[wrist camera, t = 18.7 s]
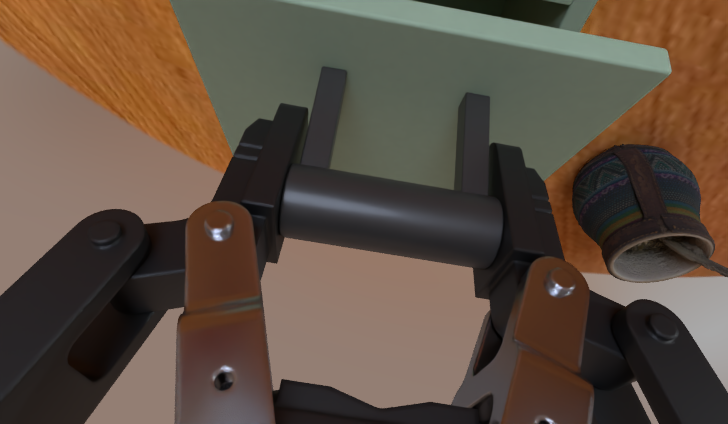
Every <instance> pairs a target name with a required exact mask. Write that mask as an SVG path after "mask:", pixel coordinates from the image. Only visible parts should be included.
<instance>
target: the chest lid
mask: <svg viewBox="0 0 728 424" xmlns="http://www.w3.org/2000/svg"><path fill="white" fill-rule="evenodd" d="M170 2H171V5H172V7H173V10H174V12H175V15H176V17H177V19H178V22H179V24H180V27H181V29H182V32H183V34H184V37H185V39H186V41H187V44H188V46H189V49H190V51H191V54H192V56H193V59H194V61H195V63H196V66H197V68H198V71H199V73H200V76H201V78H202V81H203V83H204V85H205V88H206V90H207V93H208V95H209V98H210V100H211V103H212V105H213V107H214V110H215V112H216V115H217V117H218V120H219V122H220V125H221V127H222V129H223V132H224V134H225V137H226V139H227V142H228V144H229V147H230V149H231V151H232V154H233V156H234V153H235V150H236V148H237V146H239V142H240V140H241V138H242V135H243V133H244V131H245V129H246V128H247V127H249V126H250V125H251V124H252V123H254V122H255V121H256V120H257V119H259V118H261V119H266V120H272V121H273V119H274V117H275V114H276V112H277V109H278V107H279V105H280V103H285V104H290V105H296V106H301V107H307V108H308V112H309V114H308V130H307V134H306V139H305V143H304V147H303V152H302V156H301V161H300V164H299V163H293V164H292V165H291V166H290V168H289V170H288V173H287V176H286V179H285V183H284V188H283V192H282V198H281V204H280V213H279V232H280V235H281V236H282V237H286V238H293V239H299V240H305V241H311V242H318V243H324V244H330V245H336V246H342V247H348V248H355V249H360V250H367V251H373V252H379V253H385V254H391V255H398V256H404V257H410V258H416V259H422V260H428V261H435V262H441V263H447V264H453V265H460V266H465V267H472V268H478V269H486V268H488V267H489V266H490V265H491V264H492V263H493V261H494V259H495V258H496V255H497V253H498V250H499V247H500V244H501V240H502V234H503V223H504V218H503V209H502V205H501V203H500V201H499V200H498V199H497V198H496V197H492V196H488V189H489V146H490V144H491V143H493V142H495V143H500V144H505V145H511V146H516V147H520V148H521V149H522V153H523V157H524V162H525V166H526V167H528V168H533V169H535V170H536V172H537V173H538V175H539V176H540V177H541V179H542V180H543V181H544V180H545V179H547V178H548V177H549V176H550V175H551V174H553V173H554V172H555V171H556V170H557V169H559V168H560V167H561V166H562V165H563V164H564V163H566V162H567V161H568V160H569V159H570V158H572V157H573V156H574V155H575V154H576V153H578V152H579V151H580V150H581V149H582V148H583V147H585V146H586V145H587V144H588V143H589V142H591V141H592V140H593V139H594V138H595V137H597V136H598V135H599V134H600V133H601V132H602V131H604V130H605V129H606V128H607V127H608V126H610V125H611V124H612V123H613V122H614V121H615V120H617V119H618V118H619V117H620V116H621V115H623V114H624V113H625V112H626V111H627V110H629V109H630V108H631V107H632V106H633V105H634V104H636V103H637V102H638V101H639V100H640V99H642V98H643V97H644V96H645V95H646V94H648V93H649V92H650V91H651V90H652V89H653V88H655V87H656V86H657V85H658V84H659V83H661V82H662V81H663V80H664V79H665V78H667V77H668V76H669V75H670V73H671V71H672V70H671V65H670V61H669V56H668V51H667V50H666V49H664V48H659V47H653V46H648V45H643V44H638V43H632V42H627V41H622V40H617V39H611V38H606V37H601V36H596V35H590V34H585V33H580V32H575V31H570V30H564V29H559V28H554V27H549V26H543V25H538V24H533V23H528V22H522V21H517V20H512V19H507V18H501V17H496V16H491V15H486V14H480V13H475V12H470V11H465V10H459V9H454V8H449V7H444V6H438V5H433V4H428V3H423V2H418V1H412V0H170Z"/></svg>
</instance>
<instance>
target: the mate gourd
mask: <svg viewBox="0 0 728 424" xmlns="http://www.w3.org/2000/svg"><path fill="white" fill-rule="evenodd" d="M699 189H700V188H699V186H698V183H697V181H696V178H695V177H694V175H693V173H692V172H691V171H690V170H689V169H688V167H687V166H686V165H684V164H683V163H682V162H681V161H680V160H679V159H677V158H676V157H674V156H673V155H672V154H670V153H669V152H668V151H666V150H665V149H662V148H659V147H655V146H648V145H633V144H627V145H624V144H622V145H620V147H619V146H615V145H614V147H613V148H610V149H608V150H606V151H605V152H603V153H601V154H600V155H598V156H596V157H595V158H593V159H592V160H590V161H589V162H588V163H587V164H586V165H585V166H584V167H583V168H582V169H581V171H580V172H579V173H578V175H577V177H576V178H575V181H574V184H573V195H572V205H573V206H572V208H573V211H574V212H573V213H574V214H575V218H576V220H577V221H578V223H579V225H580V226H581V227H582V229H583V230H584V232H585V233H586V234H587V235H588V236H589V237H590V238H591V239H593V240H594V241H595V242H596V243H597V244H598V245H599V246H600V248H601V250H602V257H603V259H604V261H605V264H606V267H607V270H608V272H609V273H610V274H611V275H612V276H614V277H615V278H617V279H620V280H623V281H629V282H635V283H650V282H658V281H664V280H668V279H672V278H676V277H679V276H682V275H684V274H687V273H689V272H691V271H693V270H695V269H697V268H698V267H700V266H701V265H702V266H704V267H705V268H707V269H710V270H712V271H716V272H718V273H720V275H723V276H725V277H728V268H726V267H724V266H722V265H719V264H718V263H715V262H713V261H711V260H709V258H710V257H711V256H712V254H713V252H714V250H715V243H714V240H713V239H712V237H711V236H710V235H709V233H708V231H707V229H706V227H705V226H704V225H703V224H702V223H701V222H700V214H699V213H700V204H701V203H700V202H701V196H700V190H699Z"/></svg>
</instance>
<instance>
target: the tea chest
mask: <svg viewBox="0 0 728 424" xmlns="http://www.w3.org/2000/svg"><path fill="white" fill-rule="evenodd" d="M412 1H418V2H423V3H428V4H433V5H438V6H444V7H449V8H454V9H459V10H465V11H470V12H475V13H480V14H486V15H491V16H496V17H501V18H507V19H512V20H517V21H522V22H528V23H533V24H538V25H543V26H549V27H554V28H559V29H564V30H570V31H575V32H580V31H581V29H582V27H583V25H584V24H585V22H586V20H587V18H588V17H589V15H590V13H591V11H592V10H593V8H594V6H595V4H596V2H597V1H598V0H412Z"/></svg>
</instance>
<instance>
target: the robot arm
mask: <svg viewBox="0 0 728 424" xmlns="http://www.w3.org/2000/svg"><path fill="white" fill-rule="evenodd" d="M308 114H309V112H308V108H307V107H301V106H296V105H290V104H285V103H280V105H279V107H278V109H277V112H276V114H275V117H274V119H273V121H272V120H266V119H261V118H259V119H257V120H256V121H255V122H254V123H252V124H251V125H250V126H249V127H247V128H246V129H245V131H244V133H243V135H242V138H241V140H240V142H239V146H237V148H236V150H235V153H234V157H232V159H231V161H230V163H229V165H228V168H227V170H226V172H225V174H224V176H223V178H222V180H221V183H220V185H219V187H218V189H217V191H216V194H215V196H214V198H213V200H212V201H211V202H210V203H207V204H205V205H203V206H201V207H199V208H198V209H196V210H195V211H194V212H193V213H192V214H191V215H190V217H189V218H187V219H183V220H179V221H172V222H161V223H151V224H143V222H142V220H141V219H140V218H139V216H137V215H136V214H134V213H132V212H130V211H127V210H122V209H110V210H104V211H100V212H97V213H94V214H92V215H90V216H88V217H86V218H85V219H83V220H82V221H81V222H79V223H78V224H77V225H76V226H75V227H74V228H73V229H72V230H70V231H69V232H68V233H67V234H66V235H65V236H64V237H63V238H62V239H61V240H60V241H59V242H58V243H57V244H56V245H54V246H53V247H52V248H51V249H50V250H49V251H48V252H47V253H46V254H45V255H44V256H43V257H42V258H40V259H39V261H37V262H36V263H35V264H34V265H33V266H32V267H31V268H30V269H29V270H28V271H27V272H26V273H24V275H22V276H21V277H20V278H19V279H18V280H17V281H16V282H15V283H14V284H13V285H12V286H11V287H10V288H8V289H7V290H6V291H5V292H4V293H3V294H2V295H1V296H0V424H84V423H85V422H86V420H87V419H88V417H89V416H90V415H91V414H92V412H93V411H94V410H95V408H96V407H97V406H98V404H99V403H100V401H101V400H102V399H103V397H104V396H105V395H106V393H107V392H108V391H109V389H110V388H111V386H112V385H113V384H114V382H115V381H116V380H117V378H118V377H119V376H120V374H121V373H122V371H123V370H124V369H125V367H126V366H127V365H128V363H129V362H130V360H131V359H132V358H133V356H134V355H135V354H136V352H137V351H138V350H139V348H140V347H141V346H142V344H143V343H144V341H145V340H146V339H147V337H148V336H149V335H150V333H151V332H152V330H153V329H154V328H155V327H156V325H157V323H158V322H159V321H160V320H161V318H162V317H163V316H164V314H165V313H166V311H167V310H168V309H174V308H180V307H184V312H183V314H181V315H180V316H179V319H178V324H177V339H176V384H175V386H176V387H175V424H651V422H650V420H649V418H648V416H647V414H646V412H645V410H644V408H643V406H642V404H641V402H640V400H639V398H638V396H637V394H636V392H635V390H634V388H633V386H632V384H631V383H632V382H635V381H637V382H638V383H639V386H640V388H641V390H642V392H643V394H644V395H645V397H646V399H647V401H648V403H649V405H650V407H651V409H652V411H653V413H654V415H655V417H656V419H657V421H658V423H659V424H728V393H727V391H726V389H725V388H724V386H723V384H722V383H721V381H720V380H719V378H718V377H717V375H716V373H715V372H714V370H713V369H712V367H711V366H710V364H709V362H708V361H707V359H706V358H705V356H704V355H703V353H702V352H701V350H700V348H699V347H698V345H697V344H696V342H695V341H694V339H693V337H692V336H691V334H690V333H689V331H688V330H687V328H686V327H685V325H684V324H683V322H682V321H681V320H680V319H679V318H678V317H677V316H676V315H675V314H674V313H673V312H672V311H671V310H669V309H668V308H666V307H665V306H663V305H661V304H659V303H657V302H654V301H651V300H647V299H640V300H636V301H634V302H632V303H630V304H629V305H627V306H626V307H625V306H623V305H621V304H619V303H616V302H614V301H612V300H610V299H608V298H606V297H603V296H601V295H599V294H597V293H595V292H593V291H591V290H589V287H588V284H587V282H586V280H585V278H584V277H583V275H582V274H581V273H580V272H579V271H578V270H577V269H576V268H575V267H574V266H573V265H571V264H570V263H568V262H566V261H565V259H564V255H563V252H562V248H561V244H560V240H559V236H558V232H557V228H556V224H555V220H554V217H553V214H551V213H552V209H551V205H550V202H548V199H549V197H548V193H547V189H546V186H545V183H544V181H543V180H542V179H541V177H540V176H539V175H538V173H537V172H536V170H535V169H533V168H528V167H526V166H525V162H524V157H523V153H522V149H521V148H520V147H516V146H511V145H505V144H500V143H495V142H493V143H491V144H490V146H489V189H488V196H492V197H496V198H497V199H498V200H499V201H500V203H501V205H502V209H503V218H504V223H503V234H502V240H501V244H500V247H499V250H498V253H497V255H496V258H495V259H494V261H493V263H492V264H491V265H490V266H489V267H488V268H486V269H478V268H473V273H474V284H475V297H477V298H484V299H489V300H490V311H489V312H488V313H487V314H486V315H485V318H484V321H483V324H482V327H481V330H480V333H479V336H478V339H477V342H476V345H475V348H474V351H473V355H472V358H471V361H470V364H469V367H468V370H467V373H466V376H465V379H464V381H463V383H462V385H461V386H460V388H459V390H458V391H457V393H456V395H455V397H454V399H453V402H452V404H451V405H447V404H440V403H433V402H427V403H420V404H413V405H406V406H398V407H391V408H383V409H382V408H377V407H374V406H372V405H369V404H367V403H365V402H363V401H361V400H358V399H356V398H354V397H352V396H349V395H348V394H346V393H343V392H341V391H339V390H337V389H335V388H332V387H329V386H323V385H316V384H309V383H303V382H297V381H290V380H284V379H282V380H281V384H280V389H279V390H275V391H273V385H272V376H271V368H270V360H269V351H268V343H267V334H266V326H265V317H264V308H263V300H262V291H261V282H260V280H261V277H262V274H263V271H264V268H265V265H266V262H271V263H277V262H278V258H279V255H280V251H281V248H282V244H283V241H284V238H285V237H282V236H281V235H280V232H279V213H280V204H281V198H282V192H283V188H284V183H285V179H286V176H287V173H288V170H289V168H290V166H291V165H292V164H293V163H299V164H300V161H301V156H302V152H303V147H304V143H305V139H306V134H307V130H308Z"/></svg>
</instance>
